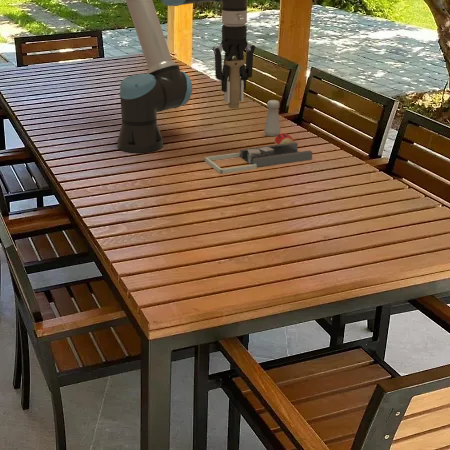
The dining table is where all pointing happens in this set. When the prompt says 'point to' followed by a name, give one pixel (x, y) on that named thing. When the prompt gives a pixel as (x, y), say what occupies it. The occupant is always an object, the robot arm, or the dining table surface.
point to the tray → (227, 170)
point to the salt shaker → (272, 119)
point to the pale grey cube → (252, 155)
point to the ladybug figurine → (283, 139)
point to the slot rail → (279, 155)
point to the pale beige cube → (266, 152)
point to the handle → (234, 81)
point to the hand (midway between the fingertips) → (233, 100)
